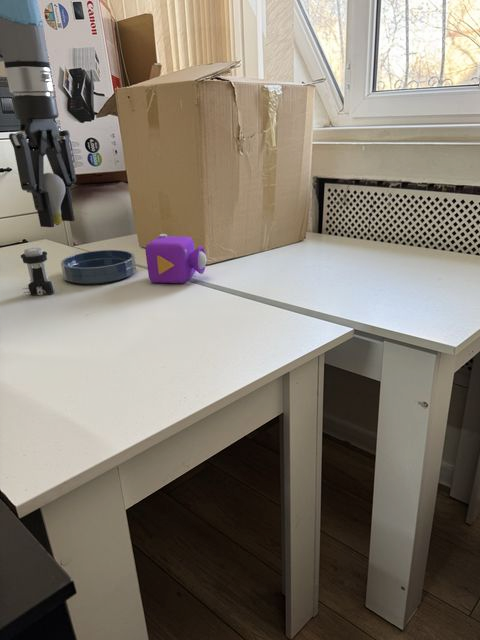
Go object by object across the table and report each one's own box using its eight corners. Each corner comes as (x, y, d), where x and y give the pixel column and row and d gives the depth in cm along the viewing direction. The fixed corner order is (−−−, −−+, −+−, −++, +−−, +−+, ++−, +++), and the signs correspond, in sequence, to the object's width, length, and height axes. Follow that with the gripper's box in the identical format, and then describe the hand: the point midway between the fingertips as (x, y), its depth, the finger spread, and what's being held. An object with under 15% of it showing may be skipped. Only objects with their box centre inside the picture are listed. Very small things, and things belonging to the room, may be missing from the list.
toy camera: (206, 284, 116) (203, 241, 112) (147, 286, 117) (141, 243, 112) (210, 271, 126) (207, 231, 122) (155, 273, 126) (150, 232, 122)
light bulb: (37, 227, 101) (26, 174, 96) (52, 222, 106) (42, 171, 101) (62, 227, 100) (53, 174, 96) (76, 222, 105) (67, 171, 100)
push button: (20, 298, 111) (9, 253, 107) (27, 291, 116) (17, 247, 112) (51, 296, 112) (42, 251, 108) (57, 289, 117) (48, 246, 113)
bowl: (49, 282, 121) (45, 265, 120) (93, 263, 136) (90, 248, 134) (110, 288, 116) (107, 270, 114) (149, 268, 131) (147, 251, 129)
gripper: (10, 93, 84) (40, 234, 94) (82, 95, 99) (101, 215, 109) (-24, 95, 86) (8, 232, 96) (51, 96, 102) (72, 214, 112)
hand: (58, 223), depth 103 cm, fingers closed on light bulb, 5 cm apart
